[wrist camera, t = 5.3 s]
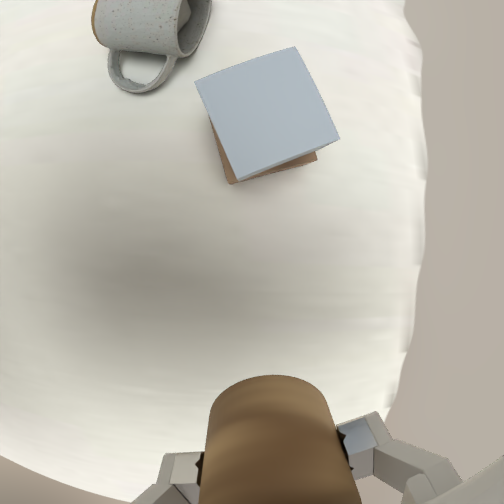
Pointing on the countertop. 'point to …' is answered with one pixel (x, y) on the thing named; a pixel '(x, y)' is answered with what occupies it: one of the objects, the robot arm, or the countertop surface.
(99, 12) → the ceramic mug
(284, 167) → the walnut base block
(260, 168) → the slate upper block
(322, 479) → the oak cylinder
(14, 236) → the countertop surface
